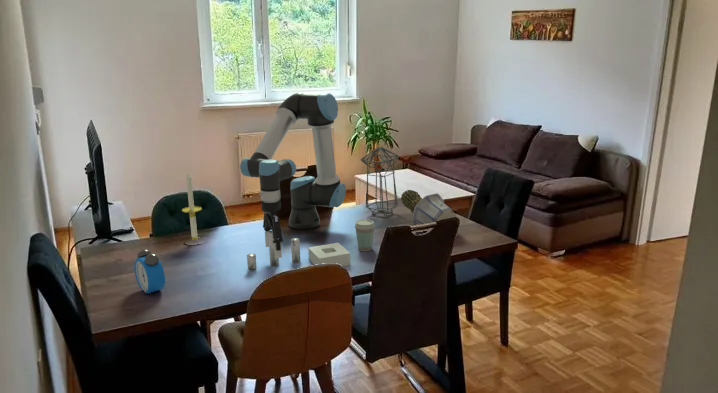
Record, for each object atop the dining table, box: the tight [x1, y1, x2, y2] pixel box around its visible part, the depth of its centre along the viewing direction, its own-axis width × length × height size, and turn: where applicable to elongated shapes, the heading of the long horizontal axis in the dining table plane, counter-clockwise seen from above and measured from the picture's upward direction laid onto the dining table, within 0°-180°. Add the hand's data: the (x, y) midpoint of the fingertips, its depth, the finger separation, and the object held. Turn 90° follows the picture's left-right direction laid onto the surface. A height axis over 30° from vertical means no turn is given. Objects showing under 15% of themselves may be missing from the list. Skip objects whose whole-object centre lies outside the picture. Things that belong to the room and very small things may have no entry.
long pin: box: [268, 230, 280, 268], centre depth 222 cm, size 3×3×14 cm
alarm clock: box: [133, 248, 166, 294], centre depth 201 cm, size 13×6×15 cm, turn 43°
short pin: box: [246, 253, 258, 272], centre depth 220 cm, size 3×3×6 cm
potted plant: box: [400, 189, 457, 226], centre depth 264 cm, size 18×18×30 cm
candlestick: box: [181, 171, 203, 240], centre depth 247 cm, size 10×10×32 cm
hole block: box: [308, 242, 351, 267], centre depth 226 cm, size 13×13×5 cm
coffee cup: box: [354, 219, 376, 252], centre depth 239 cm, size 9×8×12 cm
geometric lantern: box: [360, 146, 401, 219], centre depth 282 cm, size 16×16×35 cm
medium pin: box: [290, 237, 301, 264], centre depth 226 cm, size 3×3×10 cm
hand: (273, 252), depth 223 cm, fingers open, 13 cm apart
